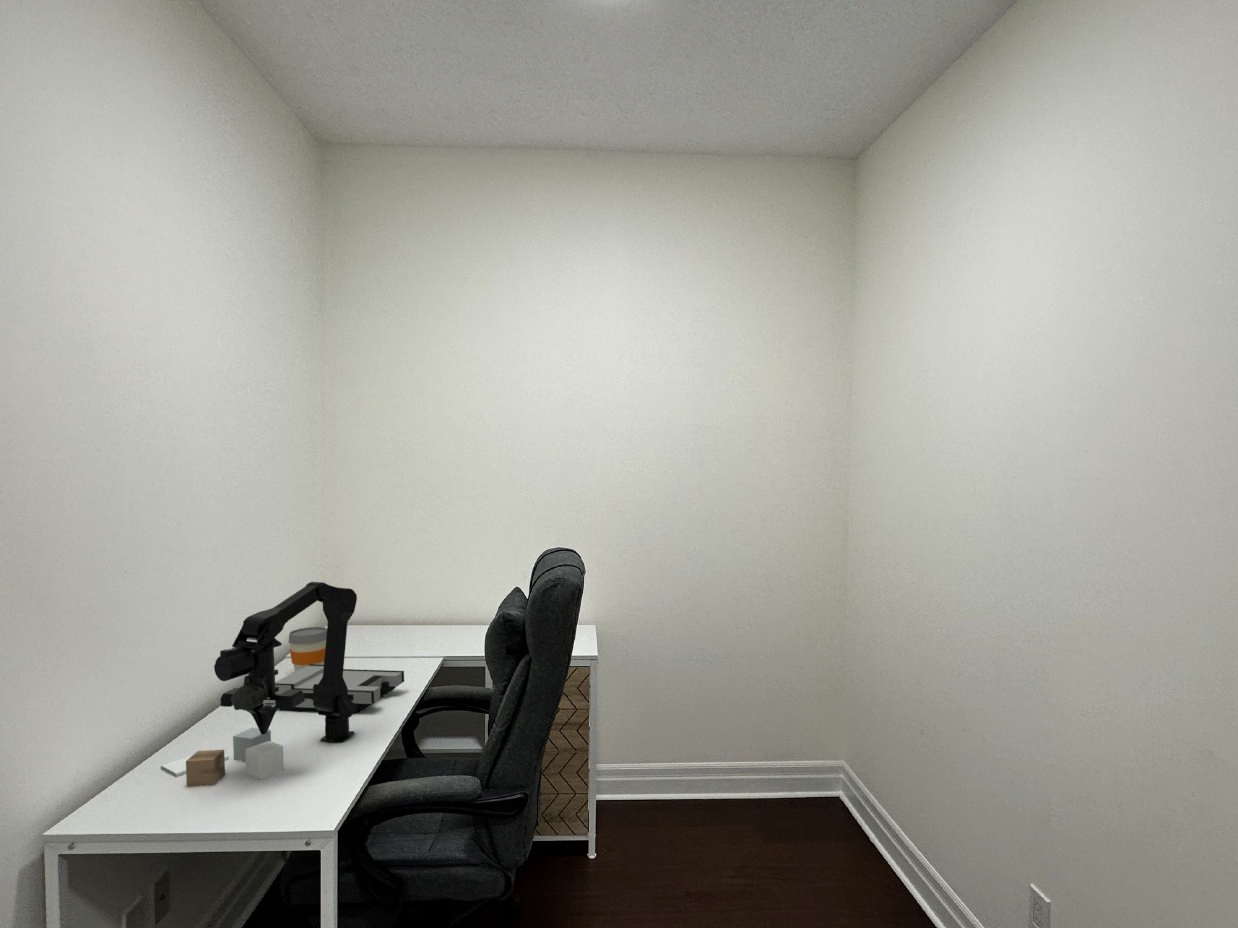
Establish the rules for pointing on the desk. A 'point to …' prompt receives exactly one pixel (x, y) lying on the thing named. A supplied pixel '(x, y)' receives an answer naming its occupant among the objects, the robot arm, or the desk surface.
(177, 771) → the external hard drive
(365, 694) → the game console
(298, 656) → the reusable coffee cup
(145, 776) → the desk surface
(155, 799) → the desk surface
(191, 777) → the walnut block
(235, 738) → the slate-grey block
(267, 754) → the off-white cube
